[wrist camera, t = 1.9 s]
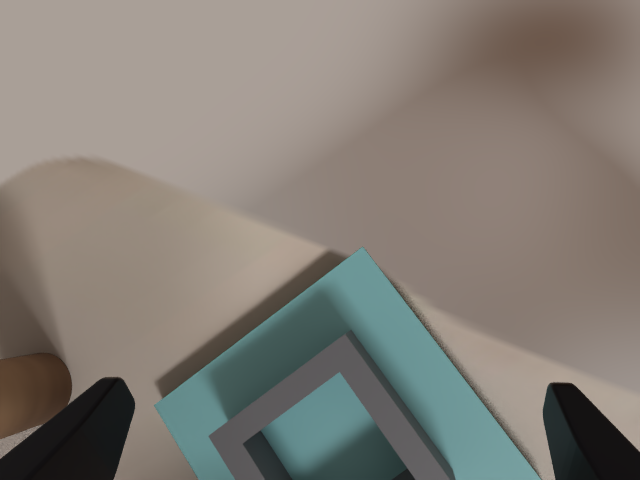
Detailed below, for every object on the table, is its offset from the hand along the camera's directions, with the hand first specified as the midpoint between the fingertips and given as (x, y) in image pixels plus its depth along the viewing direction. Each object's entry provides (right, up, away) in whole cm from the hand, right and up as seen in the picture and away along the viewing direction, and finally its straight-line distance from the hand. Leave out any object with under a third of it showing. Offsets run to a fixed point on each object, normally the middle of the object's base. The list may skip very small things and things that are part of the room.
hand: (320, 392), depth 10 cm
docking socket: (+1, -7, +14) cm, 16 cm away
